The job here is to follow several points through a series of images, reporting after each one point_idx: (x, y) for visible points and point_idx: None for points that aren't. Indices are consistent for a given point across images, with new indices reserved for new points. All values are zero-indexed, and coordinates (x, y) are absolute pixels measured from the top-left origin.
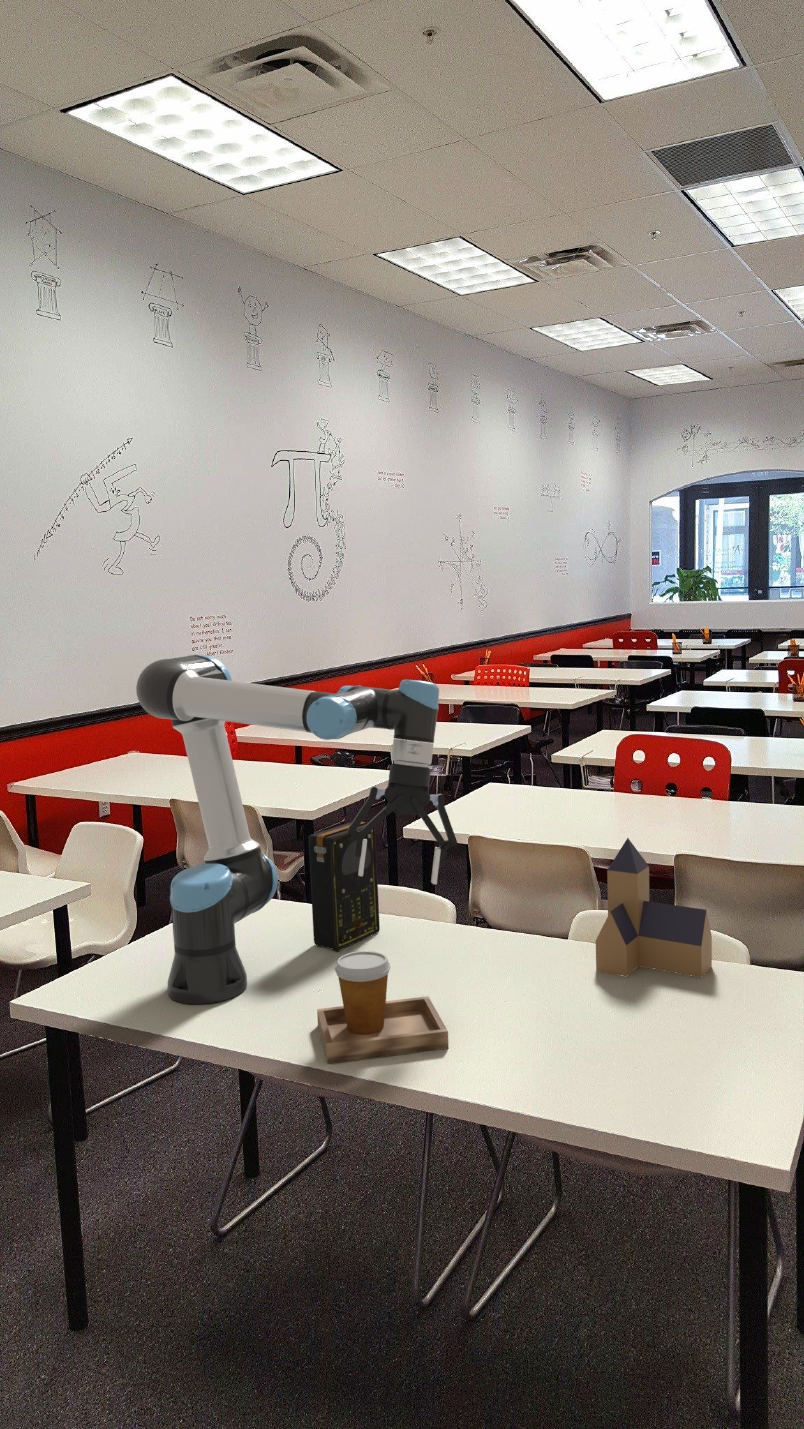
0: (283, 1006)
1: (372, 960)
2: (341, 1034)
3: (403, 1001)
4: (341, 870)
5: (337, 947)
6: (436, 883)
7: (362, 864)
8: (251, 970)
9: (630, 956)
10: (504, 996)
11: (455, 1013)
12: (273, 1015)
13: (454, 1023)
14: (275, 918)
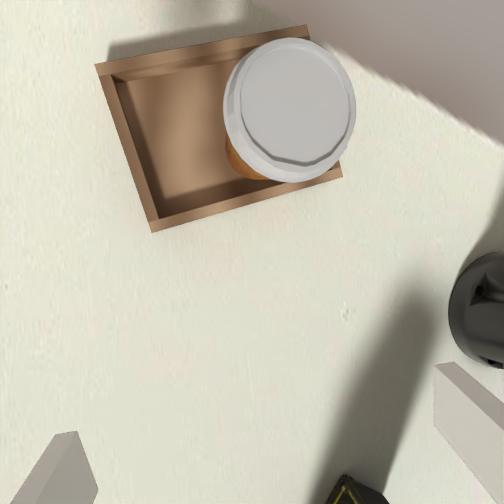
0: (388, 251)
1: (272, 114)
2: None
3: (198, 208)
4: None
5: (345, 480)
6: (53, 437)
7: (490, 406)
8: None
9: None
10: (7, 309)
11: (103, 228)
12: (396, 218)
13: (101, 185)
14: None
